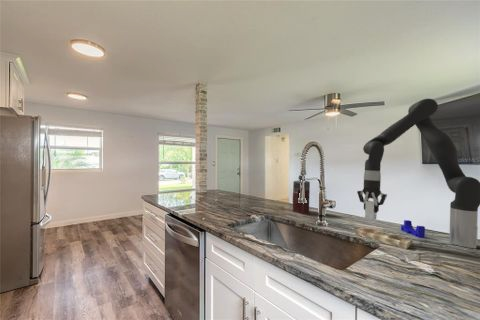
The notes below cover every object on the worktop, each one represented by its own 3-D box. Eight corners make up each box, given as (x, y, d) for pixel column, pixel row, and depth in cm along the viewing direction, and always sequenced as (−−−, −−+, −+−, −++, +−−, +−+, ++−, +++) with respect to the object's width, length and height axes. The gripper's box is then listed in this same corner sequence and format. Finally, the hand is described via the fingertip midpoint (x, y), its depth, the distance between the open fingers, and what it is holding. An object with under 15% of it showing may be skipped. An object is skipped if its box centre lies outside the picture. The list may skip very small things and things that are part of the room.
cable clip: (400, 230, 124) (401, 219, 124) (409, 230, 123) (409, 220, 123) (415, 237, 112) (415, 226, 112) (424, 238, 111) (424, 226, 111)
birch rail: (412, 244, 102) (412, 238, 102) (406, 249, 96) (406, 243, 96) (363, 231, 119) (363, 226, 119) (355, 234, 113) (355, 229, 113)
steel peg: (376, 218, 111) (377, 201, 111) (373, 220, 109) (374, 202, 109) (368, 217, 115) (368, 200, 115) (365, 218, 112) (365, 201, 112)
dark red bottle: (290, 211, 160) (291, 174, 160) (298, 209, 167) (299, 174, 167) (301, 214, 153) (302, 175, 153) (309, 212, 161) (310, 175, 161)
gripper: (390, 180, 108) (389, 213, 109) (360, 177, 120) (359, 208, 120) (385, 180, 104) (383, 215, 104) (354, 178, 115) (353, 209, 115)
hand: (370, 211), depth 112 cm, fingers closed on steel peg, 4 cm apart
